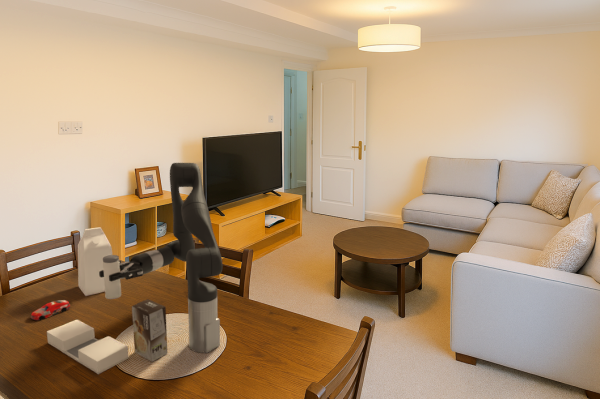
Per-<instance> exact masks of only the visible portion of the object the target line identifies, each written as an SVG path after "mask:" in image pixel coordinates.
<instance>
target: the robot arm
mask: <svg viewBox="0 0 600 399" xmlns="http://www.w3.org/2000/svg"><path fill="white" fill-rule="evenodd" d="M169 186H170V194H171V195H170V196H171V206H172V216H173V217H172V218H173V219H172V222H173V223H172V234H173V236H174V237H175V238H176V239H177V240H171V241H170V242H169V243H168V244H166V245H165V246H163V247H160V248H156V249H154V250H149V251H145V252H142V253H139V254H136V255H133V256H131V259H130V260H129V261H125V262H122V260H119V267H120V272H117V273H114V274H111V275H109V281H111V282H112V281H115V280H117V279H120V280H123V279H125V280H131V279H136V278H138V277H139V278H140V277H143V276H144V275H145V274H148V273H151V272H154V271H155V272H156V270H159V269H160V268H164V267H166V266H169V265H171V264H172V263H174V261H175V259H178V260H180V261H182V262H185V264H186V266H185V267H186V273H187V274H186V278H187V302H188V303H187V304H188V305H187V306H188V307H187V309H188V316H187V317H188V347H189V349H190V350H191V351H194V352H195V353H196V352H197V353H205V354H208V353H209V352H211V351H213V350H215V349H216V348H218V347H219V346H221V319H220V318H218V288H217V286H216V285H214V284H213V283H210V282H206V281H202V280H200V279H202V278H211V277H216V276H219V275H221V273H222V272H223V258H222V254H221V251H220V248H219V245H218V242H217V239H216V236H215V233H214V230H213V225H212V220H211V216H210V215H211V214H210V211H209V208H208V203H207V200H206V198H205V197H206V196H205V193H204V187H203V181H202V173H201V169H200V166H199V164H197V163H195V162H173V163H171V164H170V168H169ZM180 188H192V189H191V190H190V193H189V194H188V195H187V197H186V198H185V199H184V200H183V199H182V198H183V197H182V196H181V194H180ZM193 236H194V237H195V238H196V239H197V240H199V241H200V242H201V244H202V245H203V246H204V247H199V248H196V247H195V241H194V237H193ZM99 276H100V277H101V278H102V277H104V270H102V271H100V272H99Z"/></svg>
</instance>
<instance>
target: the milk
mask: <svg viewBox="0 0 600 399" xmlns="http://www.w3.org/2000/svg"><path fill="white" fill-rule="evenodd" d="M109 255H113V249H112V245H111V243H110V241H109V239H108V238H107V236H106V234H105V232H104V230H103V229H102V227H101V226H100V227H93V228H85V229H84V232H83V234H82V237H81V238H80V240H79V242H78V244H77V271H78V272H77V273H78V275H77V277H78V282H77V283H78V288H79V289H80V290H81V292H82V293H83V294H84V296H85V297H87V296H92V295H95V294H99V293H103V292H104V293H105V283H104V277H102V278H101V277H100V276H99V272H100V271H102V270H104V269H103V257H105V256H109Z"/></svg>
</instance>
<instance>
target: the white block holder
mask: <svg viewBox="0 0 600 399" xmlns="http://www.w3.org/2000/svg"><path fill="white" fill-rule="evenodd" d="M46 336H47V337H46V338H47V343H48V344H49V345H51V346H52V347H54V348H55V349H56V350H58V351H61V352H62V353H63V354H65V355H67V356H68V357H69V358H71V359H73V360H74V361H76V362H77V363H79V364H81V365H82V366H84V367H86V368H88V370H91V371H93V372H94V373H96V374H97V375H100V374H102V373H104V372H105V371H107V370H109V369H111V368H113V367H114V366H116V365H119V364H120V363H122V362H125V361H126V360H127V359H129V346H128V345H127V344H125V343H123V342H121V341H118V340H117V339H116V338H113V337H111V336H109V335H108V336H106V337H104V338H100V339H97V338H95V328H94V327H92V326H90V325H89V324H86V323H85V322H82V321H81V320H80V319H75V320H72V321H70V322H67V323H65V324H63V325H60V326H57V327H55V328H52V329H49V330H47V331H46Z"/></svg>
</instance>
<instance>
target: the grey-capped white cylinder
mask: <svg viewBox="0 0 600 399" xmlns="http://www.w3.org/2000/svg"><path fill="white" fill-rule="evenodd" d="M119 261H120V256H119V255H117V254H112V255H109V256H105V257H103V269H104V283H105V292H104V294H105V296H104V297H105V298H106V299H107V300H114V299H119V298H120V297H122V286H121V278H120V279H117V280H115V281H112V282H111V281H109V275H111V274H114V273H117V272H120V267H119Z"/></svg>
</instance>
